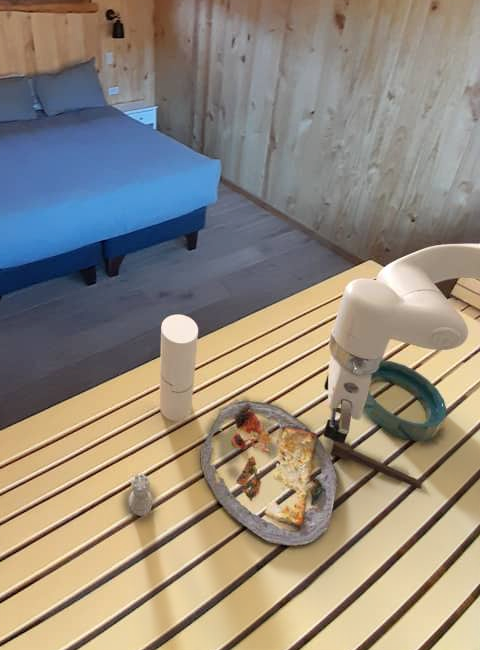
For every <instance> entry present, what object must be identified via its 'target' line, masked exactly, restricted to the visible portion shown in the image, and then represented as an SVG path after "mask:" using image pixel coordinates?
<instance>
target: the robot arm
mask: <svg viewBox="0 0 480 650" xmlns="http://www.w3.org/2000/svg"><path fill="white" fill-rule="evenodd" d="M453 279H475V280H480V243H447V244H437V245H432V246H428V247H425V248H422V249H419V250H417V251H414V252H412V253H409V254H407V255H405V256H402V257H400V258H398V259H396V260H394V261H392V262H389V264H387V265H385V266H384V267H383V268H382V269H381V270H380V271H379V272H378V273H377V275H376V278H375V279H371V278H364V277H363V278H356V279H353V280H351V281H350V282H348V283H347V284H346V286H345V288H344V290H343V294H342V297H341V301H340V304H339V307H338V311H337V314H336V318H335V321H334V324H333V326H332V327H333V328H332V331H331V334H330V338H329V341H328V347H327V348H328V352H329V355H330V358H329V363H328V371H327V375H326V379H325V381H324V386H323V387H324V390H326V391H327V405H328V408H329V409H330V418H328V419H327V421H326V423H325V427H324V429H323V436H324V437H325V438H327V439H329V440H330V441H331V440H333V441H335V442H340V443H344V442H345V441H346V440H347V436H348V434H349V432H350V426H351V420H356V421H359V420H360V419H361V418H362V416H363V412H364V406H365V402H366V399H367V396H368V392H369V393H370V386H371V385H370V382H371V375H372V373H374V372H375V371H377V370H378V368H379V366H380V363H381V361H382V360H383V358H384V355H385V353H386V351H387V348H388V346H389V343H390V340H394V341H396V342H401V343H404V344H408V345H410V346H414V347H418V348H422V349H428V350H432V351H448V350H454V349H457V348H459V347H461V346H462V345H463V344H464V343H465V342H466V341H467V340H468V337H469V329H468V325H467V323H466V321H465V319H464V318H463V316H462V315H461V314H460V313H459V311H458V310H457V309H456V308H455V307H454V306H453V304H452V303H451V302H450V301H449V300H448V299H447V297H446V296H445V295H444V293H443V292H442V291H441V290H440V289H439V288H438V286H437V285H436V284H438V283H440V282H443V281H448V280H453ZM337 414H339V420H338V419H336V415H337Z"/></svg>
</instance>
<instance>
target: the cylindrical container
mask: <svg viewBox="0 0 480 650" xmlns="http://www.w3.org/2000/svg"><path fill="white" fill-rule="evenodd" d="M160 325H161V327H160V358H159V359H160V361H159V391H158V393H159V395H158V396H159V397H158V408H159V411H160V413H161V415H163V417H164V418H165V419H167V420H169V421H172V422H176V423H177V422H182V421H184V420H186V419H187V418H189V417H190V415H191V413H192V407H193V396H194V385H195V384H194V382H195V372H196V360H197V349H198V337H199V327H198V324H197V323H196V322H195V320H193V319H192V318H191V317H190V316H187V315H184V314H171V315H169V316H167V317H165V319H163V320H162V323H161V324H160Z"/></svg>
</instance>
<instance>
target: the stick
mask: <svg viewBox="0 0 480 650" xmlns="http://www.w3.org/2000/svg"><path fill="white" fill-rule="evenodd" d="M329 447H330V448H329V449H330V450H329V454H330V455H332V456H334V457H337V458H338V459H341V460H343V461H345V462H348V460H351V461H353V462H356V463H358V464H360V465H363V466H364V467H366V468H367V467H368V468H370V469H372V470H374V471H376V472H379V473H381V474H383V475H385V476H388V477H390V478H392V479H394V480H398V481H399V482H402V483H404V484H407V485H410V486H412V487H414V488H416V489H419V490H421V489H422V480H420V479H418V478H415V477H413V476H411V475H409V474H407V473H404V472H403V471H400V470H399V469H396V468H394V467H392V466H389V465H387V464H385V463H383V462H381V461H378V460H376V459H374V458H372V457H370V456H367V455H366V454H363V453H361V452H359V451H356V450H354V449H352V448H351V444H350V443H348V442H344V443H340V442H335V441H333V440H331V439H330V446H329Z"/></svg>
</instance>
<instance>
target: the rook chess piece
mask: <svg viewBox="0 0 480 650" xmlns="http://www.w3.org/2000/svg"><path fill="white" fill-rule="evenodd" d="M130 486H131V490H132V491H131V493H130V495H129V498H128V505H129V509H130V510H131V512H132V513H133V514H134V515H136V516H140V517H144V516H146V515H148V514H149V513H150V512H151V510H152V508H153V498H152V494H151V493H150V492H149V491H150V486H151V483H150V479H149V478H148V477H147V476H146V475H145V474H143V473H139V474H136V475H134V476H133V478H132V480H131V484H130Z"/></svg>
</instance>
